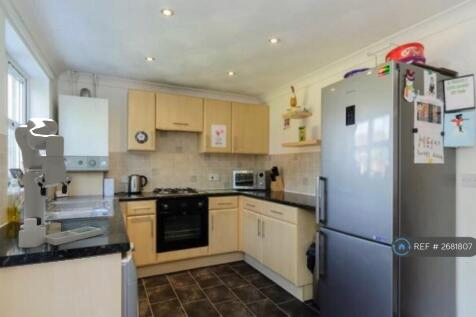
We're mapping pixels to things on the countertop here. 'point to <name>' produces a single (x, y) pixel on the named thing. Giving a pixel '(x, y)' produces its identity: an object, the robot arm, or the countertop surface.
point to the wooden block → (53, 228)
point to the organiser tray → (72, 235)
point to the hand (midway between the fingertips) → (54, 194)
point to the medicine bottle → (32, 233)
